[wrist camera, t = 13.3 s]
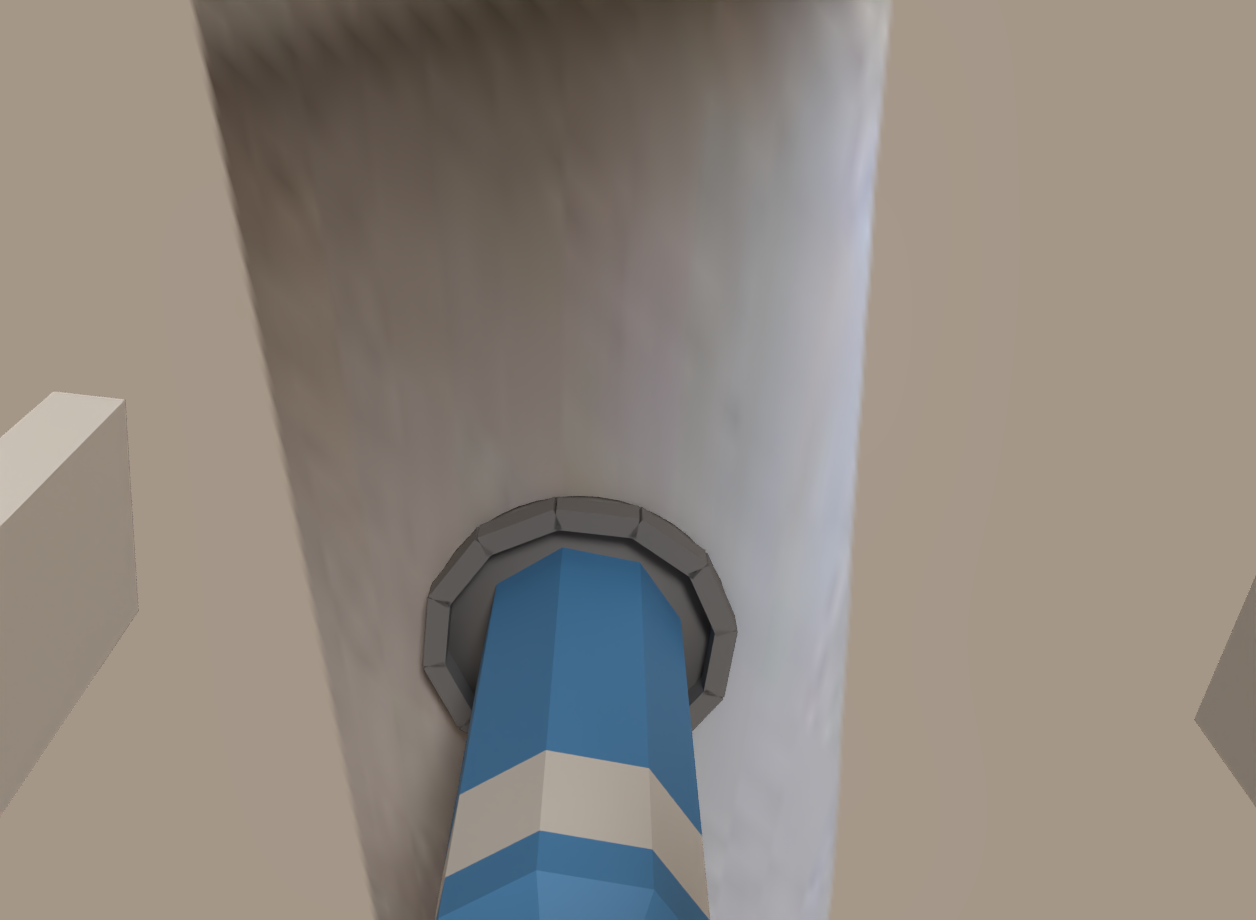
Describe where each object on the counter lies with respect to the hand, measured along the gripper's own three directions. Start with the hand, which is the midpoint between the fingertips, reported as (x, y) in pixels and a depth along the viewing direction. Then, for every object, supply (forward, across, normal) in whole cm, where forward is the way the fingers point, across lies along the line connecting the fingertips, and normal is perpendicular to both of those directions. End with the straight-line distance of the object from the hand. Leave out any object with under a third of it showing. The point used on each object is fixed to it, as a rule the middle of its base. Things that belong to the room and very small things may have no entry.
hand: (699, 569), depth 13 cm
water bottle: (+34, 0, -24) cm, 41 cm away
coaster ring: (+34, 0, -24) cm, 41 cm away
